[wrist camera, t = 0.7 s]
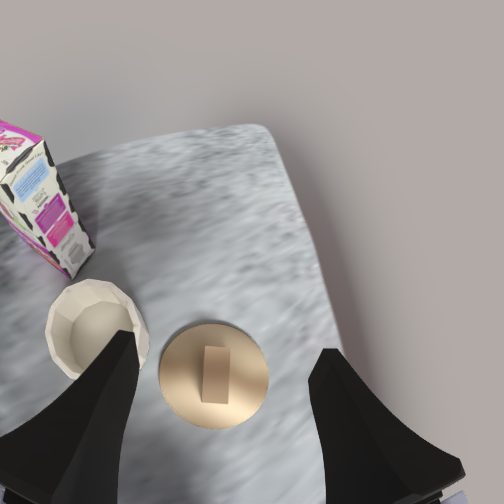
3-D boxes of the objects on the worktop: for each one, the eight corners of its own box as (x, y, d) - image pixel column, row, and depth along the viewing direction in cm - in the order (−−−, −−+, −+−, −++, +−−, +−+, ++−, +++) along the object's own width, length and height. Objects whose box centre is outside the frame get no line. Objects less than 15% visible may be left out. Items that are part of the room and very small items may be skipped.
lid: (265, 428, 24) (275, 433, 21) (157, 422, 22) (151, 426, 19) (267, 329, 29) (277, 321, 26) (165, 320, 27) (161, 310, 24)
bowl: (144, 393, 23) (133, 393, 19) (62, 374, 22) (39, 368, 17) (154, 305, 27) (146, 287, 23) (77, 292, 26) (59, 273, 22)
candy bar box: (98, 247, 29) (46, 135, 15) (74, 282, 27) (-2, 184, 12) (43, 210, 30) (-7, 113, 15) (20, 239, 27) (-42, 149, 13)
